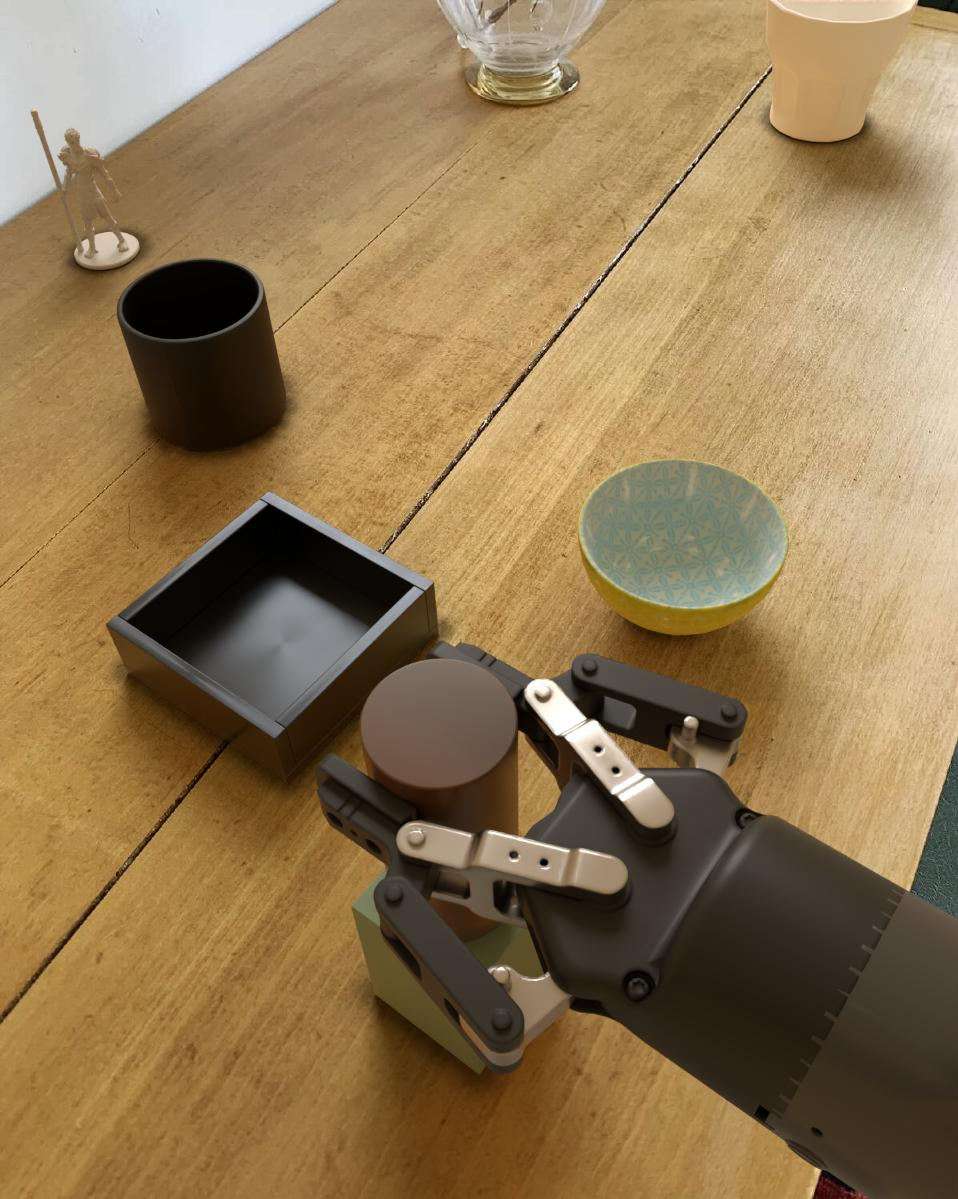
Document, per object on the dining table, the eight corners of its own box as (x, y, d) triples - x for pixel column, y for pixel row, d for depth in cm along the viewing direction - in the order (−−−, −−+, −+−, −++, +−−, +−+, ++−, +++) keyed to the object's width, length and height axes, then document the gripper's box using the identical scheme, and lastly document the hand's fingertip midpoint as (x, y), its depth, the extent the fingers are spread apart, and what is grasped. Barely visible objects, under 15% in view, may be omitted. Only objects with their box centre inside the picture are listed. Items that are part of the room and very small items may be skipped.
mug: (184, 342, 83) (153, 233, 76) (314, 390, 79) (293, 279, 72) (96, 415, 78) (54, 304, 71) (230, 470, 73) (199, 359, 67)
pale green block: (479, 1075, 48) (471, 996, 41) (374, 994, 50) (350, 906, 43) (558, 966, 51) (563, 875, 44) (455, 894, 53) (444, 797, 47)
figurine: (68, 270, 90) (16, 126, 81) (82, 235, 93) (34, 92, 84) (132, 268, 90) (88, 123, 80) (145, 233, 93) (103, 90, 84)
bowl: (812, 609, 64) (835, 534, 59) (672, 715, 60) (684, 644, 55) (671, 504, 70) (681, 429, 65) (533, 594, 66) (534, 520, 61)
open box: (288, 785, 58) (274, 739, 54) (126, 672, 63) (105, 624, 60) (439, 631, 64) (434, 582, 61) (280, 540, 69) (268, 490, 66)
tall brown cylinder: (466, 970, 41) (452, 818, 33) (363, 895, 43) (326, 735, 35) (544, 870, 43) (549, 705, 35) (443, 804, 45) (426, 634, 37)
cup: (737, 144, 100) (757, 15, 91) (756, 83, 107) (776, -42, 99) (881, 161, 97) (915, 29, 88) (890, 96, 105) (922, -31, 96)
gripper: (990, 760, 31) (503, 514, 38) (746, 1218, 24) (199, 810, 31) (918, 883, 37) (505, 649, 44) (703, 1284, 30) (249, 926, 37)
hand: (381, 717), depth 37 cm, fingers closed on tall brown cylinder, 5 cm apart
